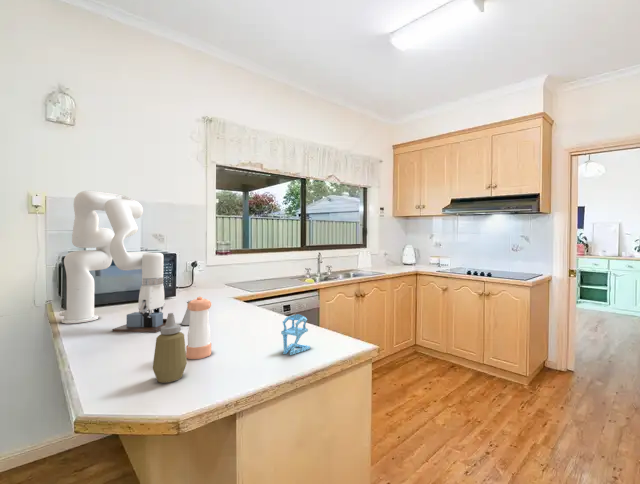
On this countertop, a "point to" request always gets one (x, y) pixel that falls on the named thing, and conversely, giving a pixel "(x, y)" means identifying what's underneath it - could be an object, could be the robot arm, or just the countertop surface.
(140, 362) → the countertop surface
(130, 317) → the pad
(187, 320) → the flask
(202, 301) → the pepper shaker
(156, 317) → the pad
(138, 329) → the backing board
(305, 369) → the countertop surface
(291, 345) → the chair
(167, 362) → the squeeze bottle
